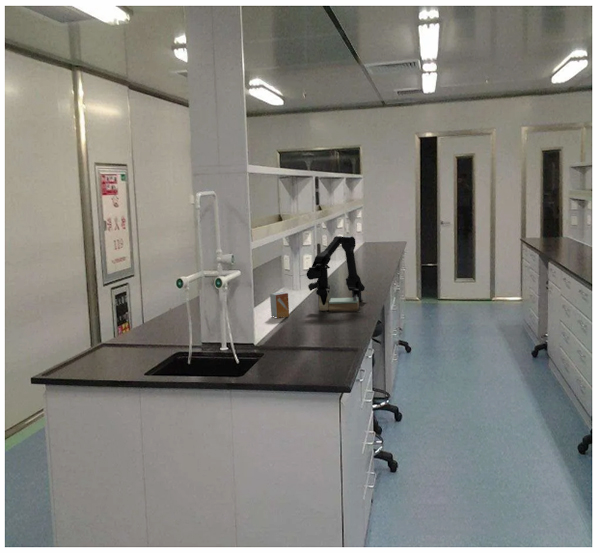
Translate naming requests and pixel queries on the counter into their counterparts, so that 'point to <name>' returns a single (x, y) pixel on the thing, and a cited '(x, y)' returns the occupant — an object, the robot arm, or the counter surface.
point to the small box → (279, 304)
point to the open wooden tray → (344, 307)
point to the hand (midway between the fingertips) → (324, 304)
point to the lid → (344, 300)
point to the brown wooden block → (326, 306)
